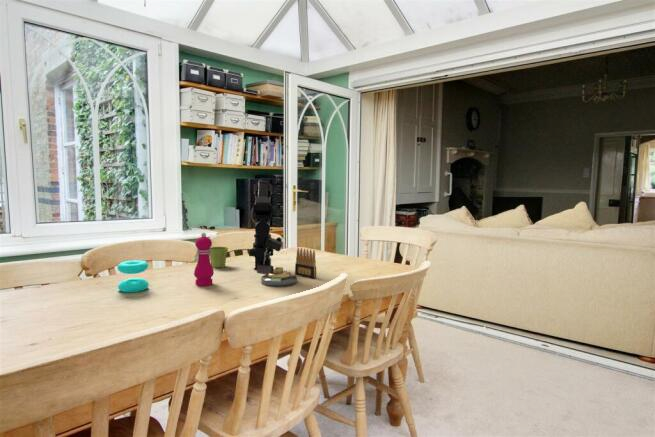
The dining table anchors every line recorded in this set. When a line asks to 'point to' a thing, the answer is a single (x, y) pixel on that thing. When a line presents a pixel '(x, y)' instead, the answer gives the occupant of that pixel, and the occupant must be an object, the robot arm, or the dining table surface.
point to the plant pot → (218, 256)
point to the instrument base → (278, 281)
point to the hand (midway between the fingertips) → (261, 269)
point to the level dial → (273, 274)
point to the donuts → (133, 283)
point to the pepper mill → (203, 262)
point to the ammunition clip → (305, 264)
